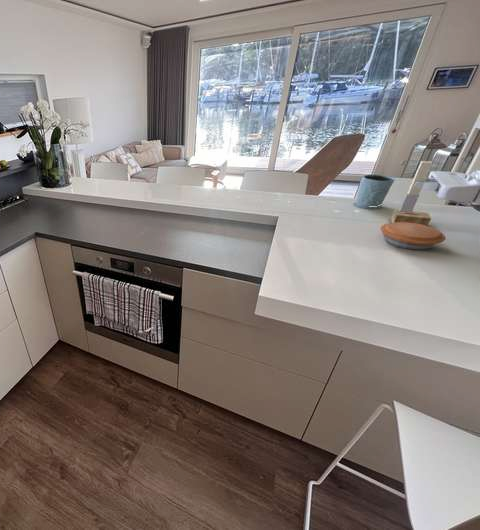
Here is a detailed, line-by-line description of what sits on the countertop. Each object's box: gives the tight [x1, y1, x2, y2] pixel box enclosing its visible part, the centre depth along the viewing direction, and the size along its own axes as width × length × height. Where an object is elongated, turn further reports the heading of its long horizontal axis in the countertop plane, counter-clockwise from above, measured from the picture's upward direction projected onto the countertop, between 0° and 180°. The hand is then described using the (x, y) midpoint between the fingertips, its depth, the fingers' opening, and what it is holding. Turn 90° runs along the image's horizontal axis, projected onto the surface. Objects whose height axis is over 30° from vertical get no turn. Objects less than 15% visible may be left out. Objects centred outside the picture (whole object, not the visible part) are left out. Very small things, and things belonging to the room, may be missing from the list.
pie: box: [379, 222, 447, 250], centre depth 93 cm, size 16×16×5 cm
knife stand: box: [390, 209, 432, 226], centre depth 104 cm, size 9×6×4 cm, turn 56°
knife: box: [398, 160, 434, 213], centre depth 91 cm, size 3×2×16 cm, turn 56°
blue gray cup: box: [355, 174, 396, 210], centre depth 120 cm, size 10×10×12 cm
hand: (413, 182), depth 90 cm, fingers closed on knife, 2 cm apart
